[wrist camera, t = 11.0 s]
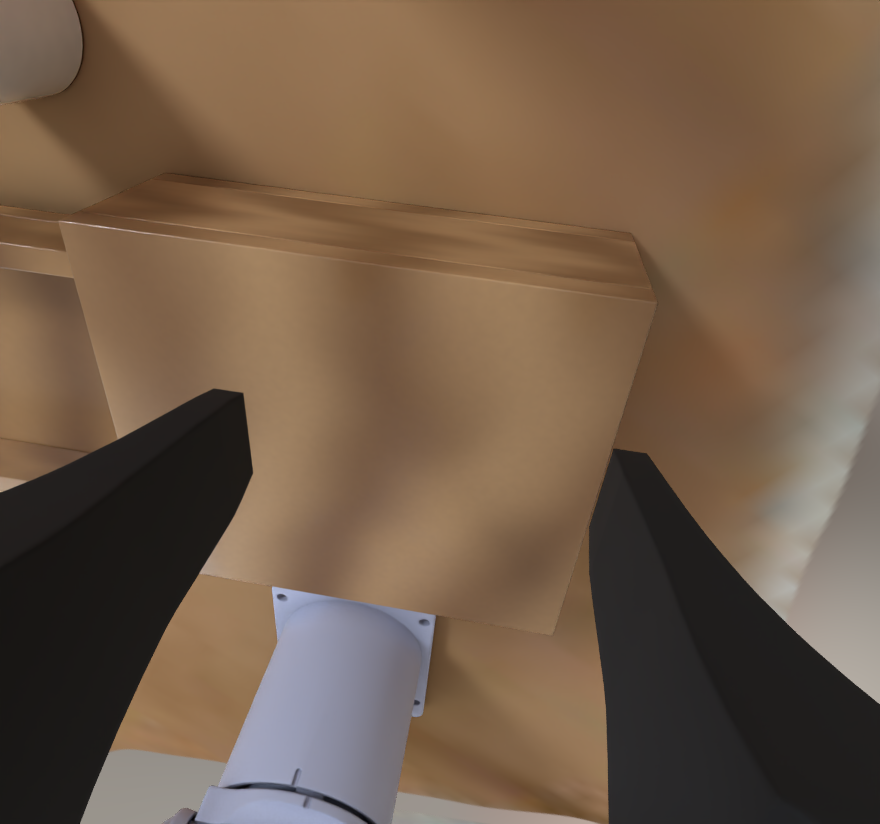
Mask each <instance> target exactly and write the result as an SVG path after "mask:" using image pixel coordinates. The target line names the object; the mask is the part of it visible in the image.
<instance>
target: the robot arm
mask: <svg viewBox="0 0 880 824" xmlns="http://www.w3.org/2000/svg"><path fill="white" fill-rule="evenodd" d="M252 475H253V466H252V458H251V450H250V442H249V434H248V426H247V417H246V409H245V401H244V393H241V392H235V391H228V390H221V389H215V388H213V389H211V390H209V391H207V392H205V393H203V394H201V395H199V396H197V397H195V398H193V399H191V400H189V401H188V402H186V403H184V404H182V405H180V406H178V407H177V408H175V409H173V410H171V411H169V412H168V413H166V414H164V415H162V416H160V417H158V418H157V419H155V420H153V421H151V422H149V423H147V424H146V425H144V426H142V427H140V428H138V429H136V430H135V431H133V432H131V433H129V434H127V435H125V436H123V437H122V438H120V439H118V440H116V441H114V442H112V443H110V444H108V445H106V446H104V447H102V448H100V449H98V450H95V451H93V452H91V453H89V454H87V455H85V456H83V457H81V458H79V459H77V460H75V461H73V462H71V463H69V464H67V465H65V466H63V467H61V468H58V469H56V470H54V471H52V472H49V473H47V474H45V475H42V476H40V477H38V478H35V479H33V480H30V481H28V482H25V483H23V484H20V485H18V486H16V487H13V488H11V489H8V490H6V491H3V492H0V824H80V822H81V819H82V817H83V814H84V811H85V809H86V806H87V804H88V801H89V799H90V796H91V793H92V791H93V788H94V786H95V784H96V781H97V779H98V776H99V774H100V772H101V769H102V767H103V764H104V762H105V760H106V757H107V755H108V753H109V750H110V748H111V746H112V743H113V741H114V739H115V736H116V734H117V731H118V729H119V727H120V725H121V722H122V720H123V718H124V716H125V714H126V711H127V709H128V707H129V705H130V703H131V700H132V698H133V696H134V694H135V692H136V689H137V687H138V685H139V683H140V681H141V679H142V676H143V674H144V672H145V670H146V668H147V666H148V664H149V662H150V660H151V658H152V656H153V654H154V652H155V650H156V648H157V646H158V643H159V641H160V639H161V637H162V635H163V633H164V631H165V629H166V627H167V626H168V624H169V622H170V620H171V619H172V617H173V615H174V613H175V612H176V610H177V608H178V606H179V605H180V603H181V602H182V600H183V598H184V597H185V595H186V594H187V592H188V590H189V589H190V587H191V586H192V584H193V582H194V581H195V579H196V578H197V576H198V574H199V573H200V571H201V570H202V568H203V566H204V565H205V563H206V562H207V560H208V558H209V557H210V555H211V554H212V552H213V550H214V549H215V547H216V546H217V544H218V542H219V541H220V539H221V537H222V536H223V534H224V532H225V531H226V529H227V528H228V526H229V524H230V522H231V521H232V519H233V517H234V516H235V514H236V511H237V509H238V507H239V505H240V503H241V501H242V498H243V496H244V494H245V491H246V489H247V487H248V484H249V482H250V480H251V477H252ZM589 575H590V583H591V591H592V599H593V607H594V615H595V622H596V630H597V637H598V644H599V652H600V659H601V667H602V674H603V682H604V691H605V702H606V720H607V752H608V800H609V824H880V704H879V703H877V702H876V701H875V700H874V699H872V698H871V697H870V696H868V694H866V693H865V692H864V691H863V690H861V689H860V688H859V687H858V686H856V685H855V684H854V683H853V682H852V681H850V680H849V679H848V678H847V677H846V676H844V675H843V674H842V673H841V672H840V671H838V669H836V668H835V667H834V666H833V665H832V664H831V663H830V662H828V661H827V660H826V659H825V658H824V657H823V656H822V655H820V654H819V653H818V652H817V651H816V650H815V649H813V648H812V647H811V646H810V645H809V644H808V643H807V642H806V641H805V640H804V639H803V638H801V637H800V636H799V635H798V634H797V633H796V632H795V631H794V630H793V629H792V628H791V627H790V626H789V625H788V624H787V623H786V622H785V621H784V620H783V619H782V618H781V617H780V616H779V615H778V614H777V613H776V612H775V611H774V610H773V609H772V608H771V607H770V606H769V605H768V604H767V603H766V602H765V601H764V600H763V599H762V598H761V597H760V596H759V595H758V594H757V593H756V592H755V591H754V590H753V589H752V588H751V587H750V586H749V584H748V583H747V582H746V581H745V580H744V579H743V578H742V577H741V576H740V574H739V573H738V572H737V571H736V570H735V569H734V567H733V566H732V565H731V564H730V563H729V562H728V561H727V559H726V558H725V557H724V556H723V555H722V554H721V553H720V551H719V550H718V549H717V548H716V546H715V545H714V544H713V543H712V541H711V540H710V539H709V538H708V537H707V535H706V534H705V533H704V531H703V530H702V529H701V528H700V526H699V525H698V524H697V522H696V521H695V520H694V518H693V517H692V516H691V515H690V513H689V512H688V510H687V509H686V508H685V506H684V505H683V504H682V502H681V501H680V499H679V498H678V497H677V495H676V494H675V493H674V491H673V490H672V488H671V487H670V486H669V484H668V483H667V481H666V480H665V478H664V477H663V476H662V474H661V473H660V471H659V470H658V469H657V467H656V466H655V464H654V463H653V461H652V460H651V459H650V457H649V456H648V455H647V453H640V452H633V451H627V450H620V449H613V453H612V456H611V459H610V462H609V465H608V469H607V472H606V475H605V478H604V481H603V485H602V488H601V491H600V494H599V497H598V501H597V504H596V507H595V510H594V513H593V516H592V520H591V523H590V526H589ZM272 594H273V603H274V612H275V621H276V630H277V639H278V643H277V645H276V648H275V650H274V653H273V655H272V657H271V660H270V662H269V665H268V667H267V669H266V672H265V674H264V677H263V679H262V681H261V684H260V686H259V689H258V691H257V693H256V696H255V698H254V701H253V703H252V705H251V708H250V710H249V713H248V715H247V717H246V720H245V722H244V725H243V727H242V729H241V732H240V734H239V737H238V739H237V741H236V744H235V746H234V749H233V751H232V753H231V756H230V758H229V761H228V763H227V765H226V768H225V771H224V773H223V775H222V778H221V780H220V782H219V785H218V786H213V785H211V786H209V788H208V790H207V792H206V794H205V797H204V799H203V801H202V804H201V806H200V808H199V811H198V812H195V811H193V810H191V809H188V808H183V809H181V810H179V811H178V812H177V813H176V814H175V815H174V816H172V817H171V818H169V819H168V820H166V821H164V822H163V823H162V824H391V823H392V818H393V812H394V807H395V802H396V795H397V791H398V785H399V780H400V775H401V769H402V764H403V759H404V753H405V748H406V742H407V737H408V732H409V726H410V721H411V716H412V717H419V716H421V715H422V714H423V710H424V703H425V696H426V688H427V680H428V673H429V665H430V658H431V650H432V642H433V635H434V627H435V619H436V615H431V614H426V613H420V612H414V611H409V610H403V609H397V608H392V607H386V606H380V605H375V604H369V603H363V602H358V601H352V600H346V599H341V598H335V597H329V596H324V595H318V594H312V593H307V592H301V591H295V590H290V589H284V588H278V587H273V586H272Z"/></svg>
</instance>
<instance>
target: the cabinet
mask: <svg viewBox="0 0 880 824" xmlns="http://www.w3.org/2000/svg"><path fill="white" fill-rule="evenodd" d="M58 223H59V226H60V230H61V233H62V237H63V241H64V244H65V248H66V252H67V255H68V259H69V263H70V266H71V270H72V273H73V277H74V281H75V284H76V288H77V292H78V295H79V299H80V303H81V306H82V310H83V313H84V317H85V321H86V324H87V328H88V332H89V335H90V339H91V343H92V346H93V350H94V354H95V357H96V361H97V364H98V368H99V372H100V375H101V379H102V383H103V386H104V390H105V394H106V397H107V401H108V404H109V408H110V412H111V415H112V419H113V423H114V426H115V430H116V434H117V437H118V439H120V438H122V437H123V436H125V435H127V434H129V433H131V432H133V431H135V430H136V429H138V428H140V427H142V426H144V425H146V424H147V423H149V422H151V421H153V420H155V419H157V418H158V417H160V416H162V415H164V414H166V413H168V412H169V411H171V410H173V409H175V408H177V407H178V406H180V405H182V404H184V403H186V402H188V401H189V400H191V399H193V398H195V397H197V396H199V395H201V394H203V393H205V392H207V391H209V390H211V389H213V388H215V389H221V390H228V391H235V392H241V393H244V401H245V409H246V417H247V426H248V434H249V442H250V450H251V458H252V466H253V475H252V477H251V480H250V482H249V484H248V487H247V489H246V491H245V494H244V496H243V498H242V501H241V503H240V505H239V507H238V509H237V511H236V514H235V516H234V517H233V519H232V521H231V522H230V524H229V526H228V528H227V529H226V531H225V532H224V534H223V536H222V537H221V539H220V541H219V542H218V544H217V546H216V547H215V549H214V550H213V552H212V554H211V555H210V557H209V558H208V560H207V562H206V563H205V565H204V566H203V568H202V570H201V571H200V573H199V574H204V575H210V576H216V577H221V578H227V579H233V580H238V581H244V582H250V583H255V584H261V585H267V586H273V587H278V588H284V589H290V590H295V591H301V592H307V593H312V594H318V595H324V596H329V597H335V598H341V599H346V600H352V601H358V602H363V603H369V604H375V605H380V606H386V607H392V608H397V609H403V610H409V611H414V612H420V613H426V614H431V615H437V616H443V617H448V618H454V619H460V620H465V621H471V622H477V623H482V624H488V625H494V626H499V627H505V628H511V629H516V630H522V631H528V632H533V633H539V634H545V635H550V636H552V635H553V633H554V630H555V627H556V624H557V620H558V617H559V614H560V611H561V608H562V605H563V602H564V598H565V595H566V592H567V589H568V586H569V583H570V579H571V576H572V573H573V570H574V567H575V564H576V561H577V557H578V554H579V551H580V548H581V545H582V542H583V538H584V535H585V532H586V529H587V526H588V523H589V520H590V516H591V513H592V510H593V507H594V504H595V501H596V497H597V494H598V491H599V488H600V485H601V482H602V478H603V475H604V472H605V469H606V466H607V463H608V460H609V456H610V453H611V450H612V447H613V444H614V441H615V437H616V434H617V431H618V428H619V425H620V422H621V419H622V415H623V412H624V409H625V406H626V403H627V400H628V396H629V393H630V390H631V387H632V384H633V381H634V378H635V374H636V371H637V368H638V365H639V362H640V359H641V355H642V352H643V349H644V346H645V343H646V340H647V337H648V333H649V330H650V327H651V324H652V321H653V318H654V314H655V311H656V308H657V305H658V302H657V299H656V296H655V294H654V291H653V289H652V286H651V283H650V281H649V278H648V276H647V273H646V270H645V268H644V265H643V263H642V260H641V257H640V255H639V252H638V249H637V247H636V244H635V241H634V239H633V236H632V234H631V233H624V232H616V231H608V230H600V229H593V228H585V227H577V226H570V225H562V224H554V223H546V222H539V221H531V220H523V219H516V218H508V217H500V216H493V215H485V214H477V213H469V212H462V211H454V210H446V209H439V208H431V207H423V206H416V205H408V204H400V203H392V202H385V201H377V200H369V199H362V198H354V197H346V196H338V195H331V194H323V193H315V192H308V191H300V190H292V189H285V188H277V187H269V186H261V185H254V184H246V183H238V182H231V181H223V180H215V179H208V178H200V177H192V176H184V175H177V174H169V173H164V174H161V175H159V176H157V177H155V178H152V179H150V180H148V181H146V182H143V183H141V184H139V185H137V186H134V187H132V188H130V189H128V190H126V191H123V192H121V193H119V194H117V195H114V196H112V197H110V198H108V199H105V200H103V201H101V202H99V203H96V204H94V205H92V206H90V207H87V208H85V209H83V210H81V211H79V212H76V213H74V214H72V215H69V216H67V217H65V218H63V219H60V220H59V221H58Z"/></svg>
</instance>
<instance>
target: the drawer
mask: <svg viewBox="0 0 880 824" xmlns="http://www.w3.org/2000/svg"><path fill="white" fill-rule="evenodd" d="M67 216H69V215H68V214H60V213H53V212H46V211H38V210H31V209H24V208H16V207H9V206H2V205H0V491H6V490H8V489H11V488H13V487H16V486H18V485H20V484H23V483H25V482H28V481H30V480H33V479H35V478H38V477H40V476H42V475H45V474H47V473H49V472H52V471H54V470H56V469H58V468H61V467H63V466H65V465H67V464H69V463H71V462H73V461H75V460H77V459H79V458H81V457H83V456H85V455H87V454H89V453H91V452H93V451H95V450H98V449H100V448H102V447H104V446H106V445H108V444H110V443H112V442H114V441H116V440H118V437H117V434H116V430H115V426H114V423H113V419H112V415H111V412H110V408H109V404H108V401H107V397H106V394H105V390H104V386H103V383H102V379H101V375H100V372H99V368H98V364H97V361H96V357H95V354H94V350H93V346H92V343H91V339H90V335H89V332H88V328H87V324H86V321H85V317H84V313H83V310H82V306H81V303H80V299H79V295H78V292H77V288H76V284H75V281H74V277H73V273H72V270H71V266H70V263H69V259H68V255H67V252H66V248H65V244H64V241H63V237H62V233H61V230H60V226H59V223H58V221H59V220H60V219H63V218H65V217H67Z"/></svg>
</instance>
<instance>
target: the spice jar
mask: <svg viewBox="0 0 880 824" xmlns="http://www.w3.org/2000/svg"><path fill="white" fill-rule="evenodd" d="M82 52H83V40H82V31H81V25H80V21H79V17H78V14H77V11H76V8H75V6H74V3H73V1H72V0H0V105H6V104H11V103H16V102H22V101H27V100H33V99H38V98H43V97H49V96H52V95H55V94H58V93H60V92H61V91H63V90H64V89H66V88H67V87H68V86H69V85H70V84H71V82H72V81H73V80H74V78H75V76H76V75H77V73H78V70H79V67H80V65H81V60H82Z"/></svg>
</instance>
